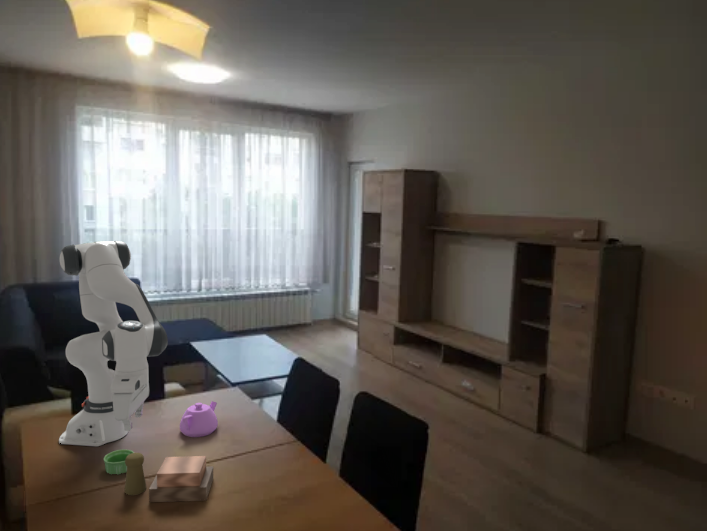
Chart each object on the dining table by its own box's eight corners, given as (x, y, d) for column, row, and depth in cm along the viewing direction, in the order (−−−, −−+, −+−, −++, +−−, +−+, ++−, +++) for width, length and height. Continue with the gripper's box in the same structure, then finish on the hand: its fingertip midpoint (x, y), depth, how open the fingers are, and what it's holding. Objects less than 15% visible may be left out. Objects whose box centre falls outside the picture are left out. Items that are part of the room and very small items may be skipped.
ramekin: (104, 464, 167) (104, 451, 166) (134, 459, 170) (134, 447, 170) (103, 478, 159) (102, 464, 158) (134, 472, 162) (134, 459, 162)
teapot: (230, 422, 201) (230, 396, 200) (200, 444, 183) (199, 415, 181) (200, 417, 206) (200, 391, 204) (167, 437, 187) (167, 409, 186)
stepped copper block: (149, 502, 146) (148, 475, 145) (160, 480, 158) (160, 455, 157) (206, 500, 148) (206, 474, 147) (213, 478, 160) (213, 454, 159)
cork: (138, 496, 149) (137, 460, 148) (119, 493, 150) (118, 458, 149) (150, 485, 155) (149, 451, 154) (132, 483, 156) (131, 448, 155)
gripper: (132, 366, 158) (134, 409, 160) (107, 389, 138) (109, 438, 140) (153, 366, 159) (154, 409, 161) (132, 389, 139) (133, 437, 140)
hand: (133, 422), depth 150 cm, fingers open, 8 cm apart
